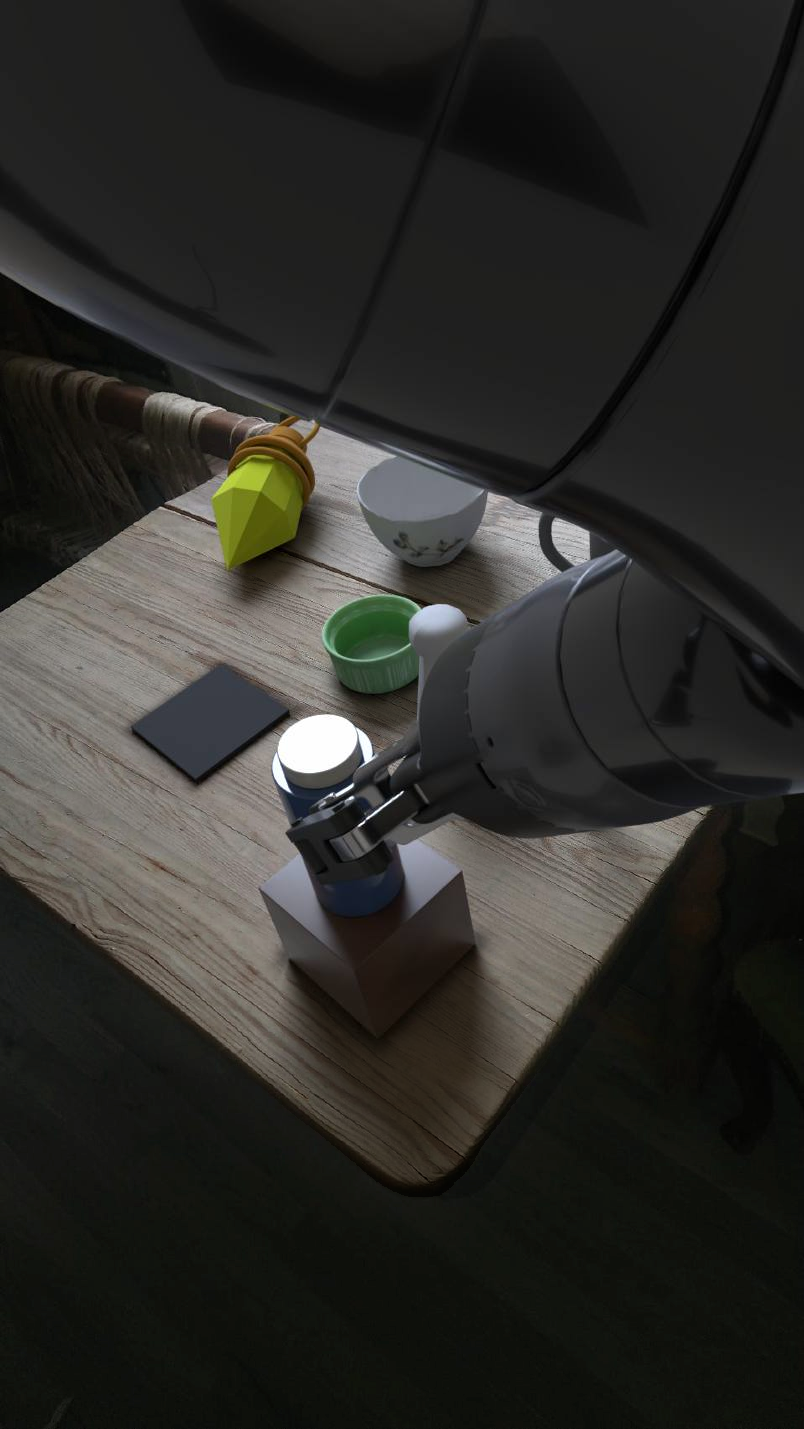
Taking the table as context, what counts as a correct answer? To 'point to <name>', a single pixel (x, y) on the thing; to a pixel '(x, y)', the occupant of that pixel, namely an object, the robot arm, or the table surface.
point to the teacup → (420, 511)
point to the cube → (376, 936)
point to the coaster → (209, 721)
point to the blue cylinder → (312, 770)
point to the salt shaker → (434, 636)
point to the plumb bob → (264, 493)
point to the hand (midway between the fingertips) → (400, 771)
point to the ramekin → (372, 643)
